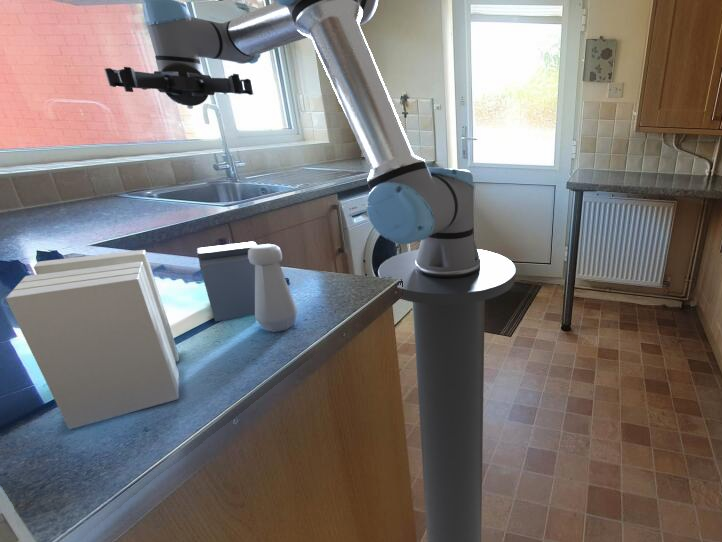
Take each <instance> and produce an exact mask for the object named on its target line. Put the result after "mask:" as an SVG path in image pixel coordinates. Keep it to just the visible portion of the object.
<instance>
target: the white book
mask: <svg viewBox="0 0 722 542" xmlns="http://www.w3.org/2000/svg"><path fill="white" fill-rule="evenodd" d="M133 262H143V265H144V268H145V271H146V275H147V278H148V281H149V284H150V287H151V290H152V293H153V296H154V299H155V302H156V305H157V308H158V311H159V314H160V317H161V320H162V323H163V326H164V329H165V332H166V335H167V338H168V341H169V344H170V347H171V350H172V353H173V356H174V360H175V363H177V362H179V359H180V358H179V357H180V356H179V355H180V354H179V351H178V348H177V345H176V342H175V339H174V336H173V333H172V329H171V326H170V323H169V319H168V317H167V314H166V311H165V308H164V307H165V306H164V304H163V300H162V298H161V294H160V292H159V288H158V285H157V281H156V280H155V276H154V273H153V270H152V267H151V264H150V260H149V257H148V253H147V251H146V250H145V249H140V250H139V249H137V250H130V251H121V252H112V253H103V254H95V255H94V254H93V255H85V256H75V257H66V258H60V259H51V260H50V259H49V260H42V261H37V263H36V264H35V265H34V266H33V269H34V271H35V275H38V274H46V273H54V272H62V271H70V270H78V269H86V268H94V267H102V266H109V265H117V264H125V263H133Z"/></svg>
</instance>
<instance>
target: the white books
mask: <svg viewBox="0 0 722 542" xmlns="http://www.w3.org/2000/svg"><path fill="white" fill-rule="evenodd" d="M5 300H6V302H7V304H8V306H9V309H10V311H11V313H12V314H13V317H14V319H15V321H16V323H17V325H18V327H19V330H20V331H21V334H22V335H23V338H24V339H25V341H26V343H27V346H28V347H29V350H30V352H31V354H32V356H33V358H34V360H35V362H36V364H37V366H38V368H39V370H40V373H41V374H42V376H43V379H44V381H45V383H46V385H47V387H48V389H49V391H50V393H51V395H52V397H53V399H54V401H55V404H56V406H57V408H58V410H59V412H60V414H61V416H62V419H64V422H65V424H66V426H67V428H68V430H73V429H76V428H80V427H83V426H88V425H91V424H95V423H98V422H101V421H102V422H103V421H105V420H109V419H112V418H115V417H120V416H123V415H127V414H130V413H134V412H136V411H141V410H145V409H148V408H152V407H155V406H160V405H162V404H166V403H169V402H174V401H175V400H179V399H180V397H179V395H180V393H179V392H180V391H179V387H180V386H179V385H180V381H179V380H180V372H179V369H178V366H177V362H175V360H174V356H173V353H172V350H171V347H170V344H169V341H168V338H167V335H166V332H165V329H164V326H163V323H162V320H161V317H160V314H159V311H158V308H157V305H156V302H155V299H154V296H153V293H152V290H151V287H150V284H149V281H148V278H147V275H146V271H145V268H144V265H143V262H133V263H125V264H117V265H109V266H102V267H94V268H86V269H78V270H70V271H62V272H54V273H46V274H38V275H37V274H30V275H25V276H24V277H23V278H22V279H21V280H20V281H19V283H18V284H17V285H16V286H15V287H14V288H13V289H12V290H11V292H10V293H9V294H8V295H6V297H5Z"/></svg>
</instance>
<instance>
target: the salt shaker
mask: <svg viewBox="0 0 722 542" xmlns="http://www.w3.org/2000/svg"><path fill="white" fill-rule="evenodd" d="M248 259H249V262H250V263H251V264H254V265H255V314H254V319H255V320H256V322H257V323H258V324H259V325H260V326H261V327H262V329H263V330H265V331H268V332H271V333H277V332H282V331H287V330H289V329H290V328H291V327H293V326H294V325H295V323H296V319H297V316H298V307H297V305H296V302H295V300H294V297H293V295H292V292H291V290H290V287H289V284H288V282H287V279H286V277H285V275H284V271H283V269H282V266H281V264H280V262H281V261H282V260H283V253H282V250H281V248H280V247H279V245H276V244H271V243H266V244H265V243H262V244H257V246H254V247H252V248H250V249H249V250H248Z"/></svg>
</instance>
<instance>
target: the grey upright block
mask: <svg viewBox="0 0 722 542" xmlns="http://www.w3.org/2000/svg"><path fill="white" fill-rule="evenodd" d="M257 245H258V244H257V243H256V242H255V241H248V242H246V241H245V242H240V243H229V244H223V245H222V244H221V245H213V246H205V247H197V248H196V254H197V258H198V264H199V268H200V272H201V275H202V279H203V283H204V286H205V290H206V294H207V297H208V301H209V305H210V308H211V312H212V316H213V319H214V322H215V323H216V322H222V321H227V320H231V319H236V318H242V317H246V316H251V315H255V265H254V264H251V263H250V262H249V259H248V250H249V249H250V248H252V247H254V246H257Z"/></svg>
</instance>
